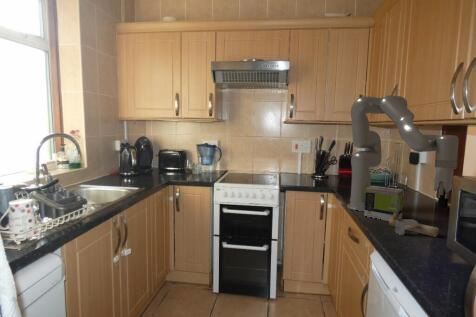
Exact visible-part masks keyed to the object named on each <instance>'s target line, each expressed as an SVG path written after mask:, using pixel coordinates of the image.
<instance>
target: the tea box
mask: <svg viewBox="0 0 476 317" xmlns="http://www.w3.org/2000/svg"><path fill="white" fill-rule="evenodd" d="M404 192H405V191H404V189H401V188H394V187H387V186H378V185H371V186H370V187H368V188H366V193H365V211H363V213H364V217H365V216H367V217H366V218H370V217H372V219H375V218H377V219H376V220H380V219H381V221H385V222H389V219H390V218H393V215H394V213H399V216H398V219H403V209H404V207H403V205H404Z"/></svg>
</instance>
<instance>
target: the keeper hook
mask: <svg viewBox="0 0 476 317" xmlns="http://www.w3.org/2000/svg"><path fill="white" fill-rule="evenodd" d="M418 224H419V222H418V220H415V219H413V218H412V219H411V218H410V219H409V218H408V219H405V218H404V219H403V218H402V219H396V224H395V227H394V233H395V232H396V233H395V234H397V233H398V234H399V235H398V234H397V235H398V236H404V235H405V225H418Z"/></svg>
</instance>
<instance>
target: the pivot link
mask: <svg viewBox="0 0 476 317" xmlns="http://www.w3.org/2000/svg"><path fill="white" fill-rule="evenodd" d="M398 216H399V213H394V215H393V218H390V219H389V221H388V226H390V227H392V228H395V224H396V219H398ZM439 229H440V228H438V227H436V226H431V225H427V224H422V223H418V225H405V230H406V231H410V232H413V233H416V234H417V233H418V234H422V235H425V236H426V235H427V236H429V237H434V238H437V237H438V236H439Z"/></svg>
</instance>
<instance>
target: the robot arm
mask: <svg viewBox="0 0 476 317" xmlns="http://www.w3.org/2000/svg"><path fill="white" fill-rule="evenodd" d="M408 106H409V104H408V101H407V99H406V98H405V97H404V96H400V95H390V94H389V95H386V96H384V97H375V96H361V97H359V98H357V99H356V100H355V101H354V102H353V103H352V104H351V108H350V119H351V132H352V133H351V134H352V144H353V146H354V147H355V148H356V149H364V150H358V151H355V152H354V153H353V154H352V156H351V158H350V164H351V188H350V198H349V200H350V203H348V204H347V208H348V209H349V210H352V211H356V210H358V212H365V193H366V188H368V187H370V186H372V185H371V182H372V175H371V170H370V169H371V168H376V167H378V166H379V165H381V163H382V158H383V157H382V142H381V141H382V140H381V139H382V138H381V136H380V135H379V133H378V132H376V130H375V131H374V130H371V129H370V121H369V118H368V116H367V114H373V115H376V114H377V115H378V114H379V115H380V114H381V115H383V114H385V115H386V116H387V117H388V118H389V119H390V121H392V123H393V124H394V125H396V127H397V130H398V134H399V136H400V137H401V139H402V141H403V142H405V143H406V145H407V146H409V148H411V150H413V151H415V152H418V153H425V152H426V153H427V152H429V153H430V152H435V156H434V158H435V159H434V168H435V170H436V171H435V175H434V181H433V182H434V184H433V191H434V192H438V198H437V207H438V208H442V209H447V208H448V206H449V193H450V191H452V189H453V184H452V183H454V170H456V169H457V166H458V152H459V137H458V136H457V135H454V134H453V135H452V134H451V135H450V134H444V135H443V134H442V135H440V134H439V135H437V134H427V133H426V134H423V132H421V131H420V130H419V129H418V128H417V127H416V126H415V124H414V122H413V120H415V114H414V113H413V112H412V111H411V110H410V109H409V108H408Z"/></svg>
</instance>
